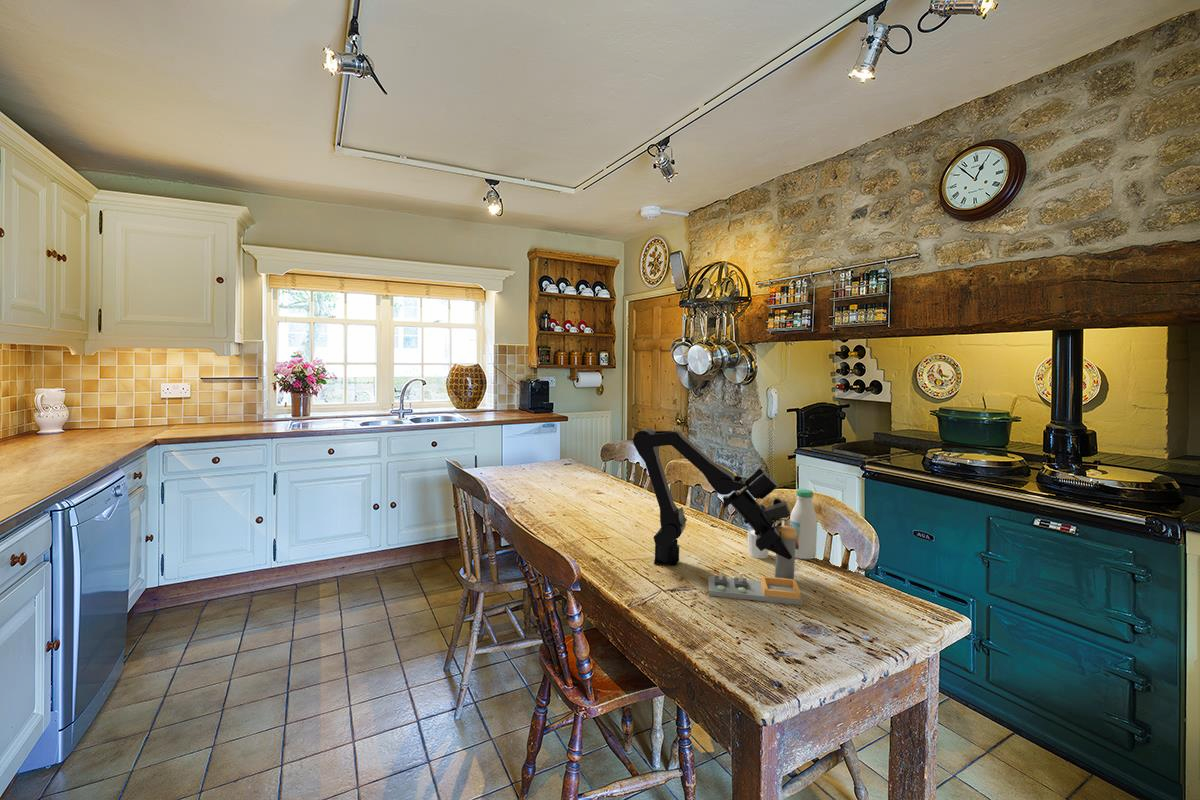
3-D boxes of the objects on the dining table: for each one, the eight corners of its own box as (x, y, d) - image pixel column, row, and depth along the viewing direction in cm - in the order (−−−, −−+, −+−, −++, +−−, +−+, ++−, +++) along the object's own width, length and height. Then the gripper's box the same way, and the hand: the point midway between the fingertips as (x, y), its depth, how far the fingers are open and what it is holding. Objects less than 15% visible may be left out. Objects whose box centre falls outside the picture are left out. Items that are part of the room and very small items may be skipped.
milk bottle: (814, 552, 158) (817, 488, 156) (816, 561, 150) (819, 494, 149) (788, 549, 160) (790, 486, 159) (788, 558, 153) (791, 492, 152)
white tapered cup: (771, 560, 151) (772, 537, 150) (747, 558, 152) (748, 535, 152) (768, 552, 158) (769, 529, 157) (745, 550, 159) (746, 528, 159)
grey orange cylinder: (776, 582, 136) (778, 530, 134) (773, 575, 140) (775, 525, 139) (795, 584, 135) (797, 532, 134) (792, 576, 139) (794, 526, 138)
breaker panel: (708, 595, 127) (709, 579, 127) (708, 580, 136) (708, 565, 136) (802, 605, 123) (803, 588, 123) (795, 589, 132) (796, 573, 131)
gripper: (771, 499, 128) (816, 548, 125) (773, 483, 146) (813, 526, 143) (737, 526, 132) (781, 575, 129) (744, 507, 149) (782, 550, 146)
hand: (790, 555), depth 136 cm, fingers closed on grey orange cylinder, 5 cm apart
